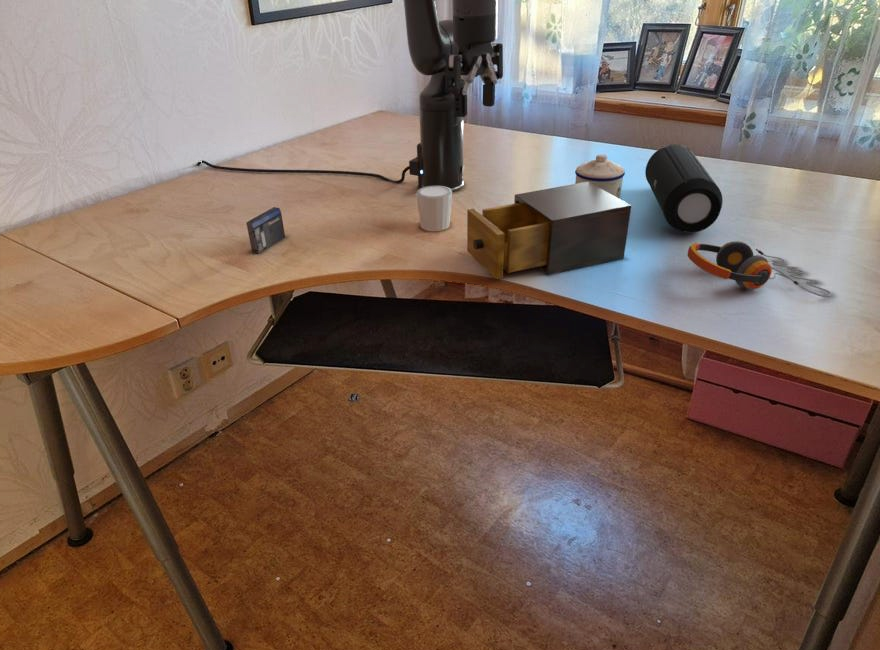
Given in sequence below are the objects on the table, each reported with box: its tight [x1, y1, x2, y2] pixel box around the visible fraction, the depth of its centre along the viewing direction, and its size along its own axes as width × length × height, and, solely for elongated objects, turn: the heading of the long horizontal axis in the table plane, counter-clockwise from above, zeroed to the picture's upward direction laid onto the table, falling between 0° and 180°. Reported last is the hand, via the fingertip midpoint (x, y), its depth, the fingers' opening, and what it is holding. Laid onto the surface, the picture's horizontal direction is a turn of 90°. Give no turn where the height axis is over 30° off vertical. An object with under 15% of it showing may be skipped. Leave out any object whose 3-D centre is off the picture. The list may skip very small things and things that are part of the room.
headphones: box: [687, 240, 833, 298], centre depth 102 cm, size 17×5×20 cm
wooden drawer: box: [466, 203, 550, 280], centre depth 111 cm, size 15×12×8 cm
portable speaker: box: [644, 144, 724, 233], centre depth 125 cm, size 26×10×10 cm, turn 172°
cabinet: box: [513, 182, 632, 276], centre depth 113 cm, size 15×13×10 cm
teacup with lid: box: [574, 153, 626, 199], centre depth 127 cm, size 12×9×12 cm
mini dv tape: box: [245, 206, 286, 254], centre depth 124 cm, size 8×2×6 cm, turn 151°
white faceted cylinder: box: [416, 186, 453, 232], centre depth 127 cm, size 7×7×7 cm
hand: (475, 111), depth 119 cm, fingers open, 8 cm apart
